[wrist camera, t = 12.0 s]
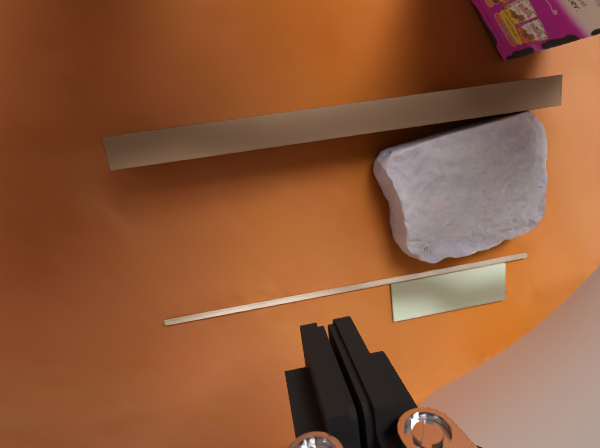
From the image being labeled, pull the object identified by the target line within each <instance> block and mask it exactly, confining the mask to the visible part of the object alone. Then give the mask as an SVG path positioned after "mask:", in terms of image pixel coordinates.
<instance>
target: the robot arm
mask: <svg viewBox="0 0 600 448" xmlns="http://www.w3.org/2000/svg"><path fill="white" fill-rule="evenodd" d="M300 331H301V338H302V345H303V352H304V358H305V365H306V367H304V368H299V369H294V370H289V371H285V376H286V382H287V388H288V394H289V400H290V406H291V412H292V418H293V424H294V430H295V436H296V439H295V440H294V441H293V442H292V443H291V444H290V446H289V447H288V448H481V447H479V446H476V445H475V444H474V443H473V442H472V441H471V440H470V439H469V438H468V437H467V435H466V434H465V433H464V432H463V431H462V430H461V429H460V428H459V427H458V426H457V425H456V424H455V422H454V421H453V420H452V419H451V418H449V417H448V416H447V415H446V414H444V413H442V412H440V411H438V410H435V409H431V408H421V407H419V408H418V407H417V405H416V404H415V402H414V400H413V399H412V397H411V396H410V394H409V392H408V391H407V389H406V387H405V386H404V384H403V382H402V381H401V379H400V377H399V376H398V374H397V372H396V371H395V369H394V367H393V366H392V364H391V362H390V361H389V359H388V357H387V356H386V354H385V353H384V352H383V351H380V352H375V353H371V354H370V353H369V351H368V349H367V347H366V345H365V343H364V341H363V340H362V338H361V336H360V334H359V332H358V330H357V329H356V327H355V325H354V323H353V321H352V319H351V318H350V316H347V317H342V318H337V319H333V324H330V325H328V333H329V339H328V336H327V334H326V331H325V329H324V326H320V327H318V326H317V323H312V324H307V325H302V326H300Z"/></svg>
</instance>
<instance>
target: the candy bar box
mask: <svg viewBox="0 0 600 448" xmlns="http://www.w3.org/2000/svg"><path fill="white" fill-rule="evenodd" d="M471 2H472V4H473V5H474V7H475V9H476V11H477V13H478V14H479V16H480V18H481V20H482V22H483V24H484V25H485V27H486V29H487V31H488V33H489V34H490V36H491V38H492V40H493V42H494V44H495V45H496V47H497V49H498V51H499V53H500V54H501V56H502V58H503V60H504V61H506V60H510V59H513V58H518V57H521V56H525V55H528V54H531V53H534V52H539V51H542V50H545V49H549V48H551V47H556V46H559V45H563V44H567V43H570V42H573V41H576V40H579V39H584V38H587V37H591V36H594V35H597V34H600V0H471Z"/></svg>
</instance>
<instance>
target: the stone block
mask: <svg viewBox="0 0 600 448" xmlns="http://www.w3.org/2000/svg"><path fill="white" fill-rule="evenodd" d="M546 159H547V137H546V133H545V130H544V125H543V124H542V123H541V122H540V121H539V119H537V118H536V117H535V115H533V114H532V113H530V112H529V111H528V110H526V111H519V112H513V113H506V114H499V115H494V116H491V117H488V118H484V119H481V120H478V121H474V122H471V123H468V124H465V125H461V126H458V127H454V128H451V129H448V130H444V131H441V132H438V133H434V134H431V135H428V136H425V137H422V138H419V139H415V140H412V141H408V142H405V143H402V144H398V145H395V146H391V147H388V148H386V149H384V150H382V151H380V153H379V155H378V156H377V158H376V159H375V160H374V165H373V172H374V175H375V178H376V180H377V181H378V184H379V186H380V187H381V189H382V192H383V194H384V196H385V198H386V199H387V200H388V203H389V209H390V225H391V229H392V236H393V238H394V240H395V242H396V243H397V244H398V245H399V247H400V248H401V250H402V251H403V252H404V253H405V254H407V255H408V256H410V257H413V258H415V259H418V260H420V261H425V262H428V263H437V262H439V261H441V260H442V259H444V258H448V257H454V258H459V257H463V256H468V255H471V254H473V253H476V252H477V251H483V250H488V249H489V248H491V247H494V246H497V245H499V244H500V243H501V242H503V241H504V240H511V239H513V238H515V237H517V236H519V235H521V234H523V233H526V232H528V231H530V230H532V229H533V228H535V227H536V226H537V225H538V224H539V223H540V220H541V219H542V217H543V214H544V211H545V198H546V187H547V180H548V176H547V172H546V165H545V164H546Z"/></svg>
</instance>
